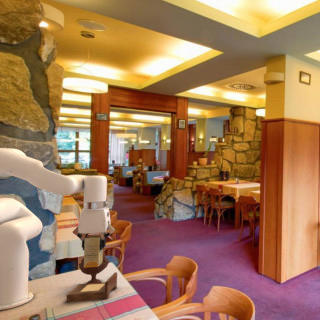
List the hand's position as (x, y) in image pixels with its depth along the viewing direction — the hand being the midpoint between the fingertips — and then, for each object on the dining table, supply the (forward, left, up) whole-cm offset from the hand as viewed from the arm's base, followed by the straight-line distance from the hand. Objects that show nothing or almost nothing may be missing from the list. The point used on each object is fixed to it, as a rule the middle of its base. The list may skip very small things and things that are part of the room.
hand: (93, 248), depth 118 cm
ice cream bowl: (-5, +12, -20) cm, 24 cm away
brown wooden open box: (0, 0, -19) cm, 19 cm away
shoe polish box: (0, 0, -7) cm, 7 cm away
